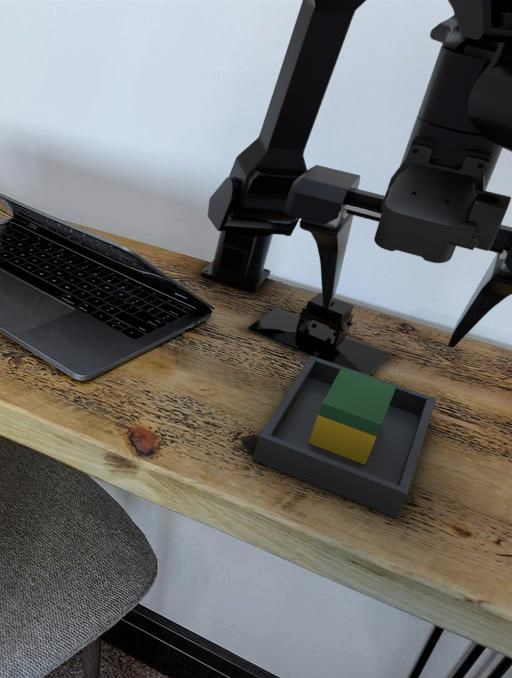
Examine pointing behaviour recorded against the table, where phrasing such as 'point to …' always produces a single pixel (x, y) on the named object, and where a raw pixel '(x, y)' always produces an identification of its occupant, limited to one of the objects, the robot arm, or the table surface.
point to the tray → (337, 471)
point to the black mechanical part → (321, 334)
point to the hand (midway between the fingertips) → (387, 325)
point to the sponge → (352, 415)
